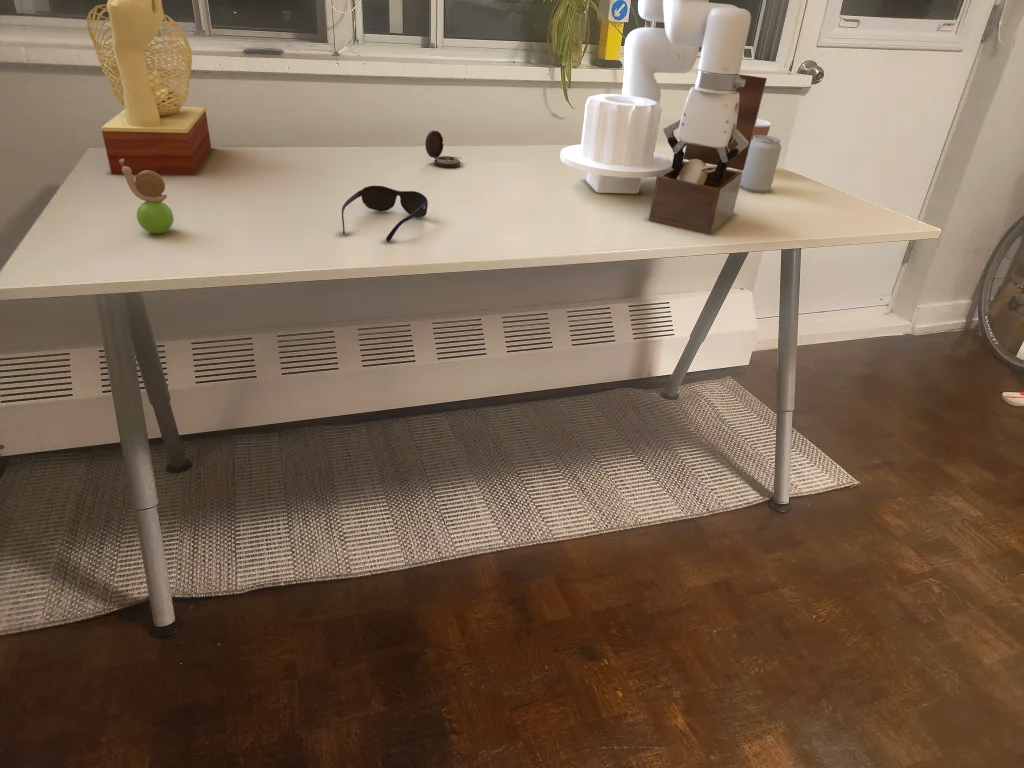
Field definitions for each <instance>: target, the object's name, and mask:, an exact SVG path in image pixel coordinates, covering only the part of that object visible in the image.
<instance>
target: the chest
mask: <svg viewBox="0 0 1024 768" xmlns="http://www.w3.org/2000/svg"><path fill="white" fill-rule="evenodd" d="M686 162H687V161H686V160H683V164H682V167H683V166H684V165H685V164H686ZM706 166H708V164H706ZM713 169H714V168H709V169H707V170H713ZM673 170H674V169H672V167H671V168H670V169H669V170H667V171H665V172H663V173H662V174H660V175H658V176H657V177H655V181H654V182H655V184H654V189H653V195H652V200H651V206H650V211H649V217H648V221H650V222H654V223H659V224H663V225H667V226H671V227H674V228H675V227H676V228H679V229H680V228H681V229H685V230H689V231H693V232H697V233H701V234H706V235H712V234H713V233H714V232H715V231H717V229H718V228H720V227H721V226H722V225H723V224H724V223H725V222H726V221H727V220H728V219H729V218H731V217H732V216H733V215H734V211H735V207H736V203H737V199H738V195H739V190H740V187H741V185H740V182H741V178H742V174H743V172H740V171H735V170H732V169H728V168H727V169H726V173H725V177H724V178H722V179H721V181H719V182H718V183H715V182H714V178H715V173H716V171H715V172H713V173H708V175H707V178H706V181H705V183H704V184H703V185H702V184H697V183H692V182H687V181H682V180H678V179H677V177H678V175H679V173H678V174H676V175H675V174H673Z"/></svg>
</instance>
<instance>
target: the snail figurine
mask: <svg viewBox="0 0 1024 768" xmlns="http://www.w3.org/2000/svg"><path fill="white" fill-rule="evenodd" d="M124 161H125V160H124V159H123V158H122V159H121V160H119V162H120V163H121V166H122V163H123V162H124ZM123 166H124V164H123ZM122 173H123V174H122V175H124V178H125V180H126V183H127V185H128V188H129V189H130V191H131V192H132V193H133V194H134V196H136V197H137V198H138V199H140V200H142V201H144V202H142V203H141V204H140V205H139V207H138V208H137V211H136V219H137V222H138V224H139V227H141V228H142V229H143V230H144V231H146V232H148V233H151V234H154V235H155V234H163V233H166V232H167V231H169V230H170V229H171V227H172V226H173V223H174V214H173V211H172V209H171V208H170V206H168V205H167V204H166V203H164V202H163V201H165V200H166V199H167V198H168V195H167V194H163V193H164V192H165V190H166V183H165V181H164V178H163V177H162V176H161V174H158V173H156V172H154V171H150V170H145V171H142V172H140V173H139V174H136V177H135V178H134V176H133V174H132V170H131V168H130V167H128V166H124V167H122Z"/></svg>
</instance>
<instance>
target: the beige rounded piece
mask: <svg viewBox="0 0 1024 768" xmlns="http://www.w3.org/2000/svg"><path fill="white" fill-rule="evenodd" d="M706 165H707V163H704V162H702V161H701V160H698V159H691V160H687V161H686V164H685V165H684V166H683V167H682V169H681V170H680V172H679V175H678V177H677V179H678V180H682V181H687V182H692V183H697V184H702V185H703V184H704V183H705V181H706V178H707V175H708V173H713V172H715V171H716V168H717V165H707V166H706ZM709 168H714V169H713V170H707V169H709Z"/></svg>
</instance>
